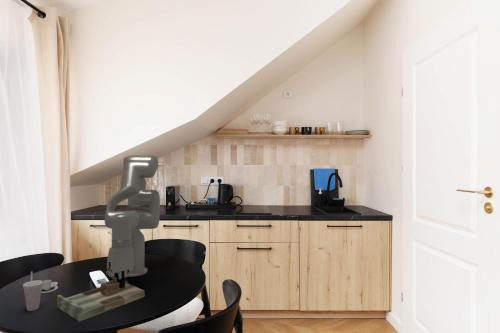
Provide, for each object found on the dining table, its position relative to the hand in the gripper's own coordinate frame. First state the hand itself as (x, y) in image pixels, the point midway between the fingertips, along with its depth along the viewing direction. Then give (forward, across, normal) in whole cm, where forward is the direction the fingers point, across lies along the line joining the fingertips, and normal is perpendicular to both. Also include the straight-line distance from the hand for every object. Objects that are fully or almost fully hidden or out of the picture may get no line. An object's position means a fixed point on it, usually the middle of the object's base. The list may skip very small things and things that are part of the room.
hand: (121, 287), depth 129 cm
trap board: (+4, +8, 0) cm, 8 cm away
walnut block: (+1, +5, 0) cm, 5 cm away
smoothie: (+4, +27, -16) cm, 31 cm away
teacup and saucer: (+4, +13, -30) cm, 33 cm away
